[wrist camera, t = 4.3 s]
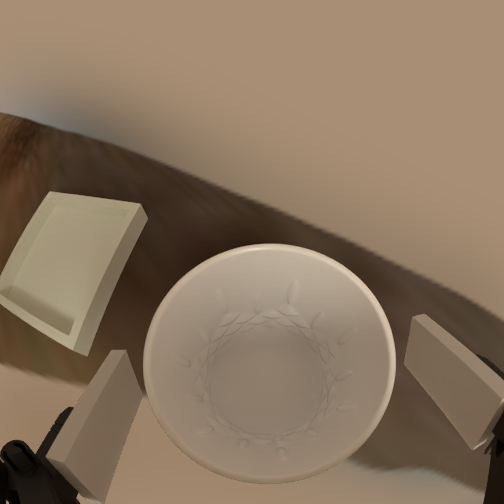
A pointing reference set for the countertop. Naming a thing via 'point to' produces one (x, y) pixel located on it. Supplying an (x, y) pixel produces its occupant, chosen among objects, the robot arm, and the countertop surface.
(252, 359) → the white cup
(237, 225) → the countertop surface
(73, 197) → the coaster tray
